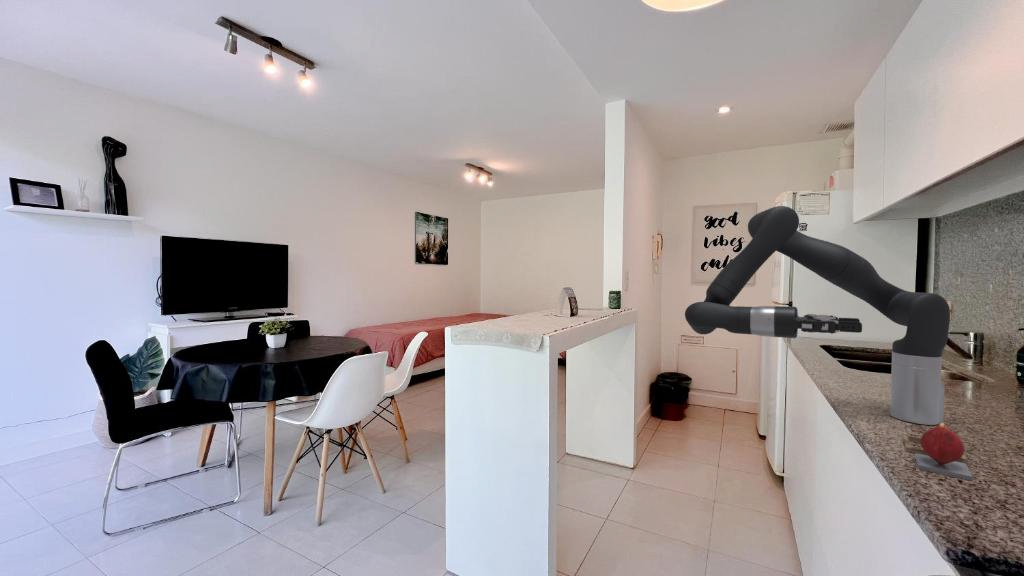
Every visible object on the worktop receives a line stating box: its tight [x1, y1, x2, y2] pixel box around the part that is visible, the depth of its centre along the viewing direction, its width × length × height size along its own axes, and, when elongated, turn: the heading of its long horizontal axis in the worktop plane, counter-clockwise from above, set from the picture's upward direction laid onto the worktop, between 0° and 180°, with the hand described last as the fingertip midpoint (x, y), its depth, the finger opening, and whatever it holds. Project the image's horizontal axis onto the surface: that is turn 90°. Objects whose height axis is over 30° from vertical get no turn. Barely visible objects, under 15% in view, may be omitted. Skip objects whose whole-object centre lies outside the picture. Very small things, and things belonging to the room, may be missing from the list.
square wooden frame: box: [902, 434, 969, 465], centre depth 87 cm, size 9×9×1 cm
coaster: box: [914, 453, 974, 482], centre depth 79 cm, size 7×7×1 cm
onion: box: [920, 422, 965, 464], centre depth 79 cm, size 6×6×8 cm
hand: (860, 325), depth 89 cm, fingers open, 8 cm apart
